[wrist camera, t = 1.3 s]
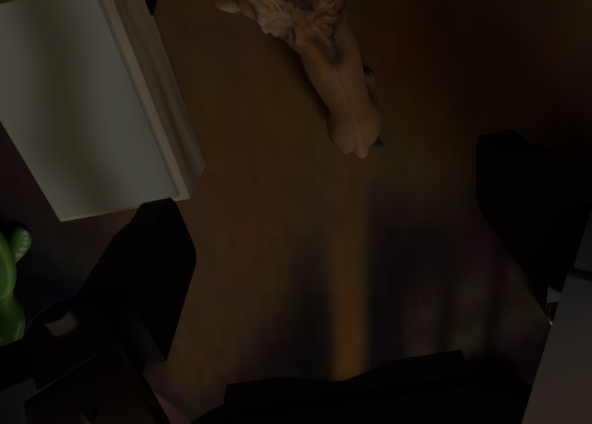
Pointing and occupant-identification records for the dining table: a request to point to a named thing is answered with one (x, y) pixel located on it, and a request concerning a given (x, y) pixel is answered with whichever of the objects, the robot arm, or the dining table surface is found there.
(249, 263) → the dining table surface
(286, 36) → the lion figurine
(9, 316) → the turtle holder
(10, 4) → the plinth
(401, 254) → the dining table surface
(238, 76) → the dining table surface
